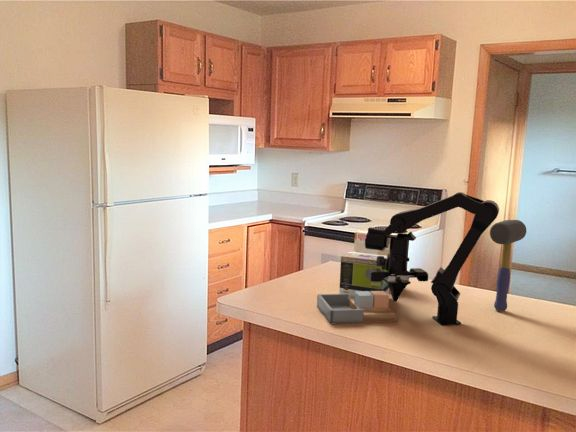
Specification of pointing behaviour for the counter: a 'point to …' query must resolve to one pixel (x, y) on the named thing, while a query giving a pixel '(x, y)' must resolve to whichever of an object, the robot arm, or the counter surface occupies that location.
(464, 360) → the counter surface
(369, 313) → the board
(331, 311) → the tray
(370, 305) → the gray cube
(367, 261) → the tea box
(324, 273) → the counter surface
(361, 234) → the coffeecake box
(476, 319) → the counter surface
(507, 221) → the rubber mallet
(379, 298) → the peach cube
